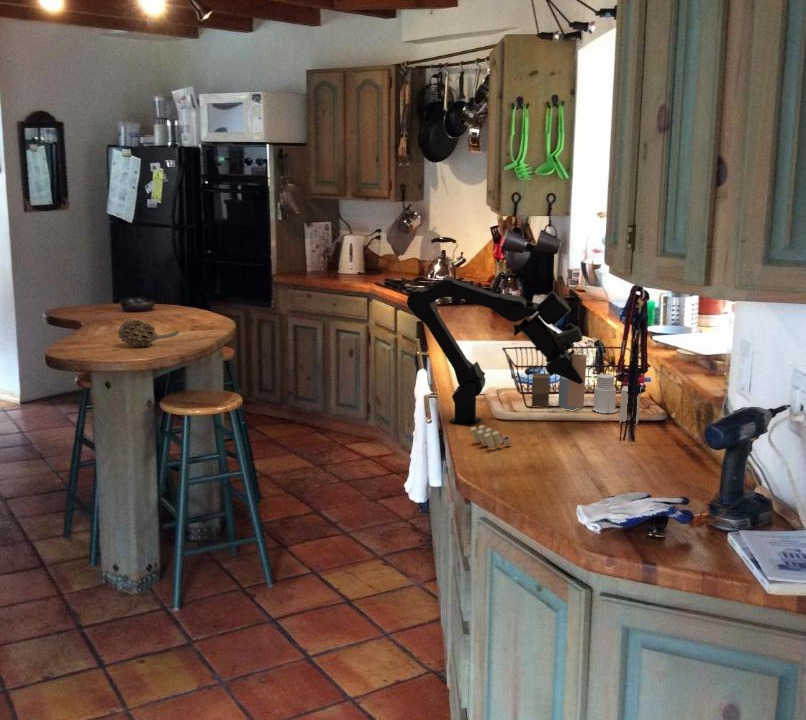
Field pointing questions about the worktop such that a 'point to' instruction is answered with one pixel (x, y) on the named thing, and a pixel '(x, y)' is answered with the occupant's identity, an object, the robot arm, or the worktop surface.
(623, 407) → the cream block
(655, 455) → the worktop surface
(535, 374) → the walnut block
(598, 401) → the downlight
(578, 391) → the terracotta block
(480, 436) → the ammunition
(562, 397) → the slate blue block
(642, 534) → the worktop surface
